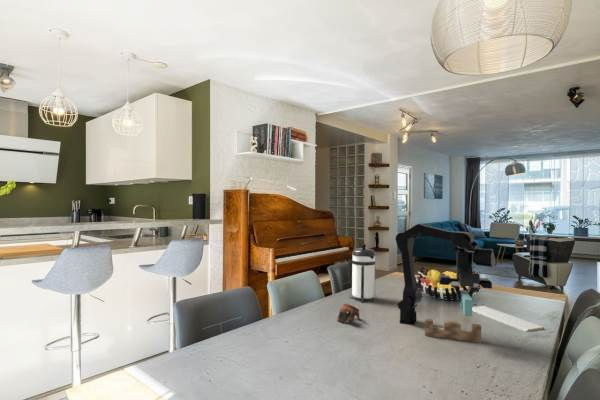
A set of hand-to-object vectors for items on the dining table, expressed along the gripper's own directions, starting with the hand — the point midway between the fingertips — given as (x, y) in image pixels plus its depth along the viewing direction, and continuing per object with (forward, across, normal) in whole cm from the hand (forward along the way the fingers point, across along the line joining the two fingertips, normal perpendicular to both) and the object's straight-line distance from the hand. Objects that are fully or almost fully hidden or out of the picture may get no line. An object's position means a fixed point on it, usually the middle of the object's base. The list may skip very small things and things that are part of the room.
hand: (464, 303), depth 138 cm
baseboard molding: (+14, +20, +29) cm, 38 cm away
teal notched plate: (+2, 0, -5) cm, 5 cm away
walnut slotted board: (+13, -5, -4) cm, 14 cm away
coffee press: (+13, -46, +40) cm, 62 cm away
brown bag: (+13, -46, +1) cm, 48 cm away
